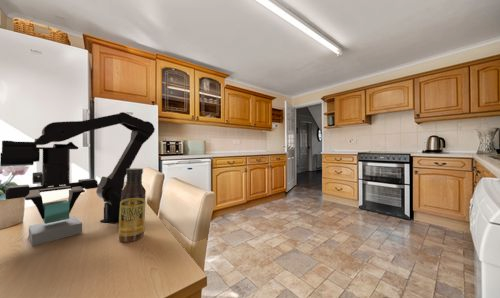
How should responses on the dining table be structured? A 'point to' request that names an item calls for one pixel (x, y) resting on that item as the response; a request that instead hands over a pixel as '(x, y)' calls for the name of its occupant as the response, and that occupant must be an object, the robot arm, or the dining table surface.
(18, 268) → the dining table surface
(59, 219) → the teal cube
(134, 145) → the robot arm
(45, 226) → the gray plinth
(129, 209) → the sauce bottle
